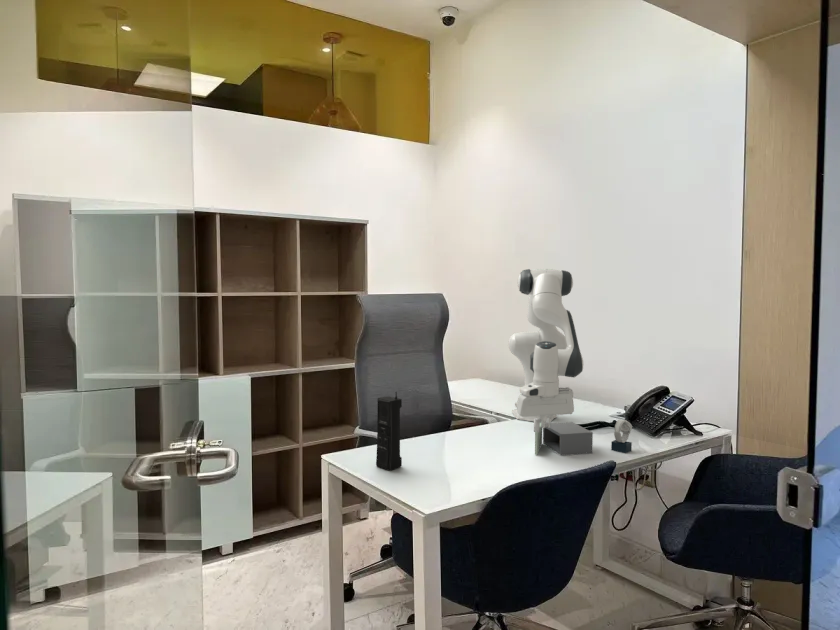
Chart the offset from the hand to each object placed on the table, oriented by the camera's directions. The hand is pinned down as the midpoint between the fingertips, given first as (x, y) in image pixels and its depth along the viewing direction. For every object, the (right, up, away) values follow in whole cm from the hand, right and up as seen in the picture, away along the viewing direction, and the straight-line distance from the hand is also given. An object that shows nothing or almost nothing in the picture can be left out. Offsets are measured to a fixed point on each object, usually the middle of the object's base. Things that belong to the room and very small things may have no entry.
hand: (545, 427), depth 190 cm
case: (+10, -9, +8) cm, 15 cm away
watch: (+29, -10, +5) cm, 31 cm away
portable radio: (-55, -11, -12) cm, 57 cm away
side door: (-1, -9, +7) cm, 11 cm away
